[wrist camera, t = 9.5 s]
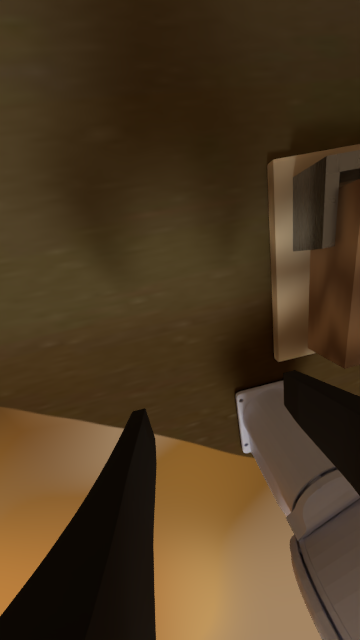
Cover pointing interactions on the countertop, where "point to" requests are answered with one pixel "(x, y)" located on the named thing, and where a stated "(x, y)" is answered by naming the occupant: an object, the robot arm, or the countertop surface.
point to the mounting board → (290, 256)
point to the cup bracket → (320, 199)
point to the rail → (338, 286)
